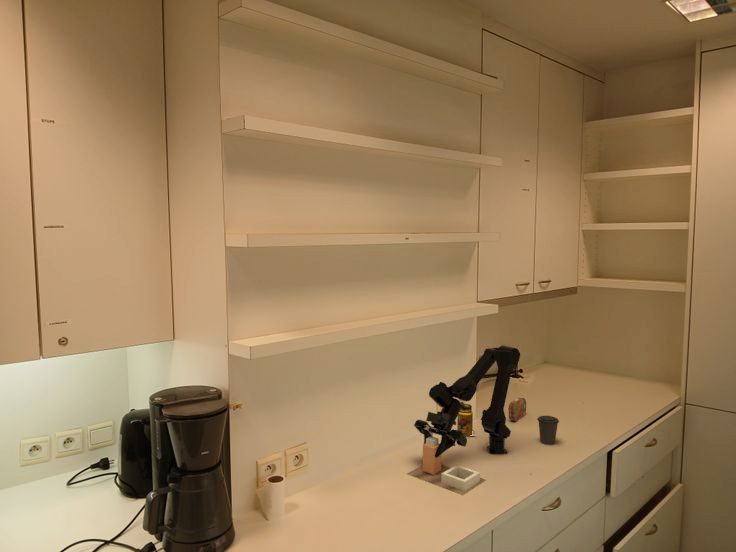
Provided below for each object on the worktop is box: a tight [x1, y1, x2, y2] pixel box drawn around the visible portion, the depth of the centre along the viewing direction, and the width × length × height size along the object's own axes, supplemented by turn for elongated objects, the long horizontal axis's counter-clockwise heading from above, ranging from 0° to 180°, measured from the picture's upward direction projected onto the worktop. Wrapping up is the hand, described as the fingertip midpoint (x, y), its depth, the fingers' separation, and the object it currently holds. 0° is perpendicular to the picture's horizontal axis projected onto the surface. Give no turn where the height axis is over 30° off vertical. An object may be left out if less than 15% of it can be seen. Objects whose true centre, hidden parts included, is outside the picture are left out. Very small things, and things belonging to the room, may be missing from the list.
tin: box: [507, 397, 527, 422], centre depth 236 cm, size 15×3×8 cm, turn 143°
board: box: [406, 463, 487, 496], centre depth 176 cm, size 22×14×1 cm, turn 47°
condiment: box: [456, 403, 474, 436], centre depth 218 cm, size 7×8×12 cm
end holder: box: [441, 464, 481, 491], centre depth 172 cm, size 9×9×3 cm
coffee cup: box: [536, 415, 560, 446], centre depth 208 cm, size 8×8×10 cm
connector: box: [422, 435, 442, 475], centre depth 180 cm, size 4×4×11 cm
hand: (429, 455), depth 179 cm, fingers closed on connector, 4 cm apart
